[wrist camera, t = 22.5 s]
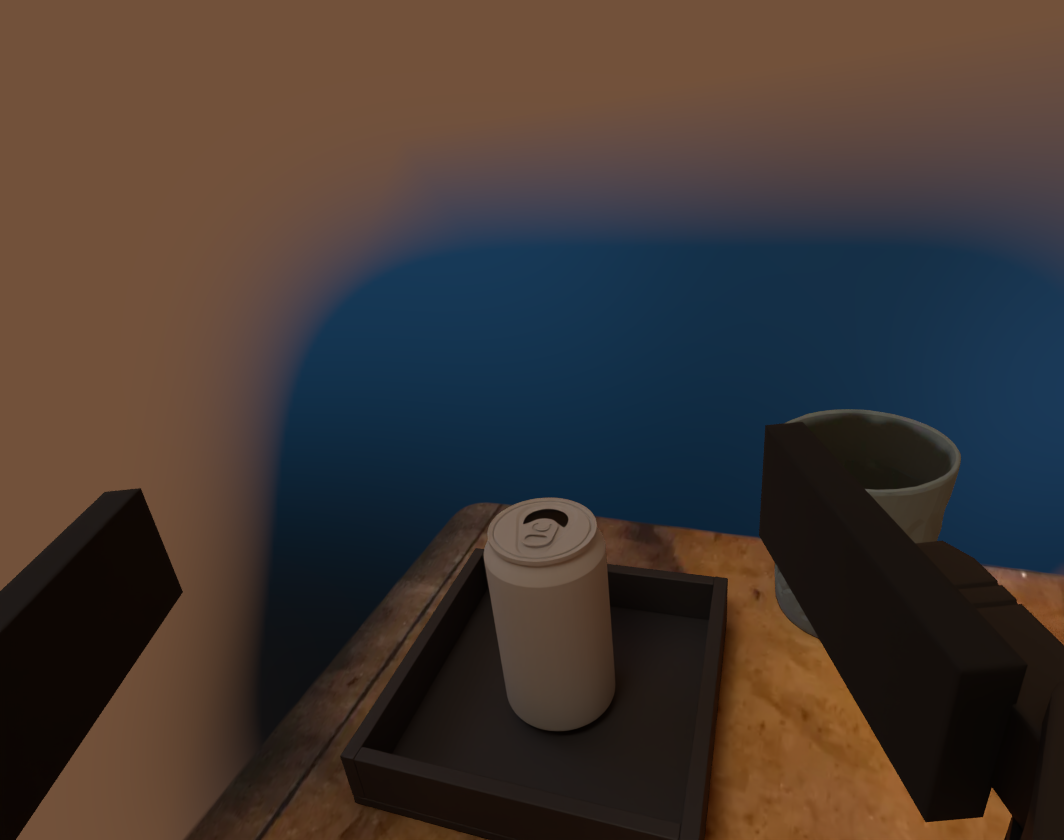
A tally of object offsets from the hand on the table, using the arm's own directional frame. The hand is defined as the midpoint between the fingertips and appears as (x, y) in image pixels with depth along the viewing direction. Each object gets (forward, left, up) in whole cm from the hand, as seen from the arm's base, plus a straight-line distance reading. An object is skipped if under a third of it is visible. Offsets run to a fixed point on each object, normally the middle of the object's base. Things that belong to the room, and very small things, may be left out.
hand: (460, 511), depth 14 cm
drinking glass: (+11, +28, -25) cm, 39 cm away
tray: (-5, +16, -24) cm, 29 cm away
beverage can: (-5, +16, -24) cm, 29 cm away
